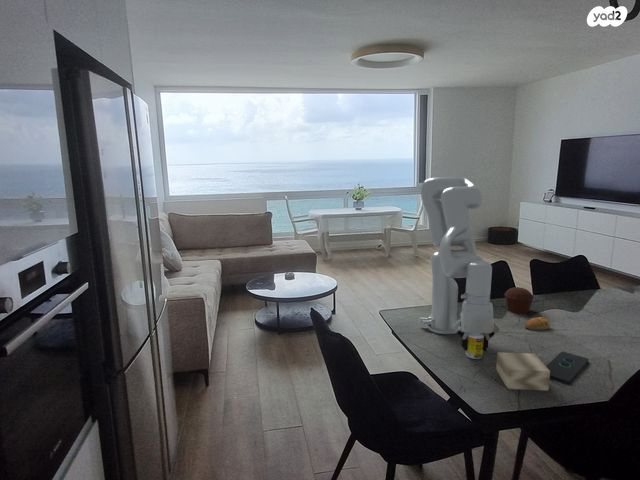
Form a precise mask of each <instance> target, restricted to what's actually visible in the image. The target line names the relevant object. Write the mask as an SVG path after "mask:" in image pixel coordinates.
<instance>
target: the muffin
mask: <svg viewBox="0 0 640 480" xmlns="http://www.w3.org/2000/svg"><path fill="white" fill-rule="evenodd" d="M503 295H504V297H505V305H506V307H505V308H506V309H507V311H508V312H510V313H514V314H520V315H522V314H524V315H525V314H528V313H530V309H531V306H532V301H533V300H534V299H535V297H534V295H533V293H532V292H530V290H528V289H527V288H524V287H520V286H519V287H517V286H515V287H511V288H509V289H507V290H506V292H504V294H503Z"/></svg>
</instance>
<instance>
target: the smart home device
mask: <svg viewBox="0 0 640 480" xmlns="http://www.w3.org/2000/svg"><path fill="white" fill-rule="evenodd" d="M588 364H589V358H587V357H584V356H580V355H577V354H573V353H570V352H568V351H563V350H561V351H560V352H559V353H558V354H557V355H556V356H555V357H554V358H553V359H552V360H551V361H549V362H548V364H547V365H545V366H546V367H547V368H548V369H549V370H550V378H549V380H552V381H556V382H559V383H562V384H565V385H570V384H572V382H574V380H575V379H576V378H577V377H578V376H579V374H580V373H581V372H582V371H583V370H584V369H585V367H586V366H587V365H588Z"/></svg>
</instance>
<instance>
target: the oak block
mask: <svg viewBox="0 0 640 480" xmlns="http://www.w3.org/2000/svg"><path fill="white" fill-rule="evenodd" d="M546 366H547V365H545V363H543V362H542V360H541V359H540V358H539V357H538V356H537V354H536V353H530V352H529V353H528V352H500V351H499V352H497V354H496V368H495V369H496V371H497V373H498V375H499V376H500V377H499V378H501V380H502V381H503V383H504V384H505V387H506V388H507V389H508V390H527V391H529V390H530V391H546V392H547V391H549V387H550V370H549V369H548V368H547V367H546Z"/></svg>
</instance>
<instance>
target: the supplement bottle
mask: <svg viewBox="0 0 640 480" xmlns="http://www.w3.org/2000/svg"><path fill="white" fill-rule="evenodd" d="M483 344H484V334H483V333H468V335H467V350H466V351H464V353H465V355H466V357H468V358H470V359H473V360H475V359H476V360H479V359H482V358H483V355H484V351H483Z"/></svg>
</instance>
